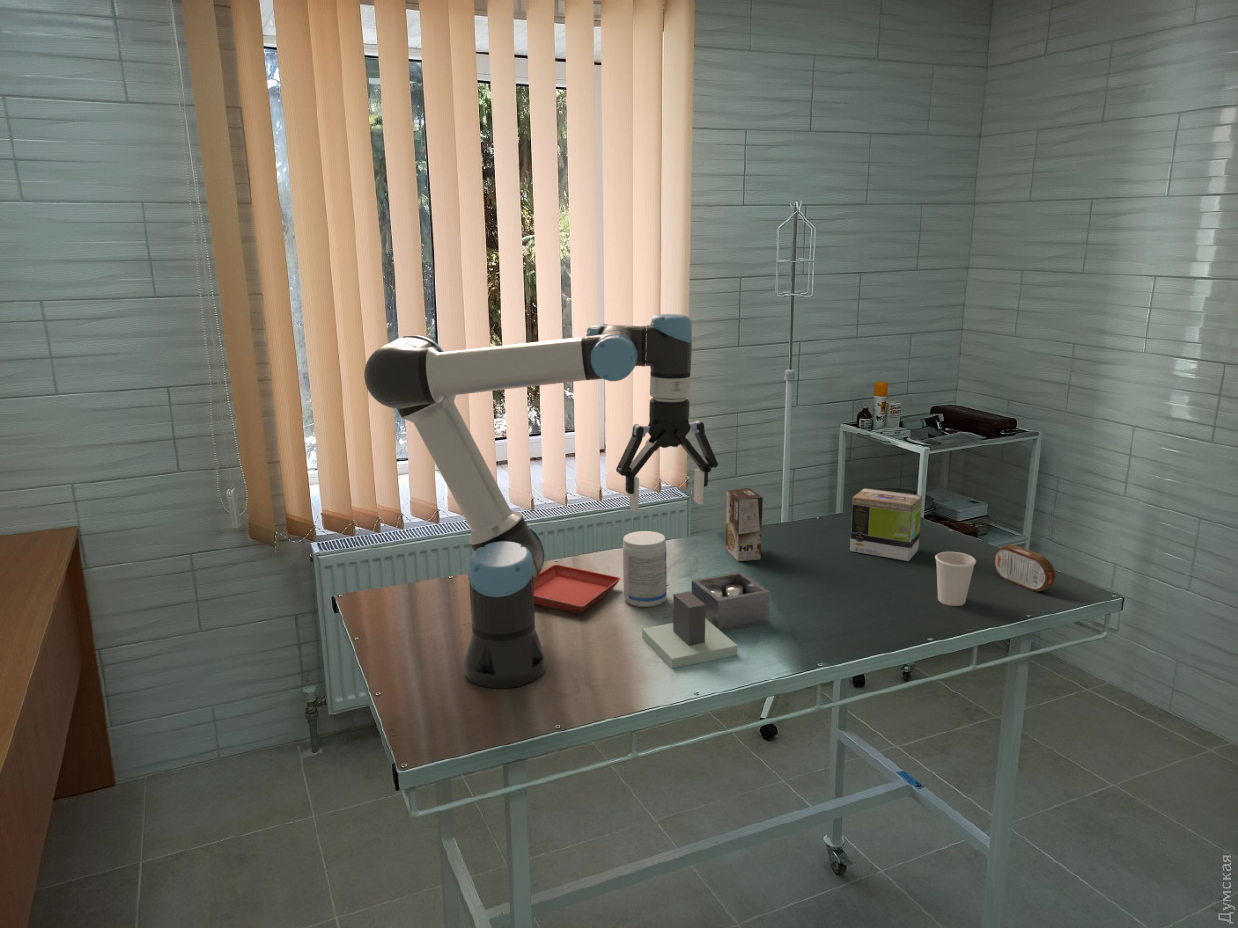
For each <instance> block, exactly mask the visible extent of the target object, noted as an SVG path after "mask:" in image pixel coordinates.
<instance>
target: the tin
mask: <svg viewBox="0 0 1238 928" xmlns="http://www.w3.org/2000/svg"><path fill="white" fill-rule="evenodd" d="M993 566H994V568H995V569H994V570H995V571H996V573H997V574H998V575H999V576H1000V577H1001V578H1002V579H1004V580H1005V581H1008V582H1010V583H1013V584H1014V585H1015V584H1016V585H1018V586H1020V587H1023V588H1024V589H1027V590H1029V591H1031V592H1042V591H1045V590H1048V589H1051V588H1052V587H1053V586H1054V584H1055V582H1056V581H1055V580H1056V571H1055V569H1054V566H1053V563H1052V562H1051V561H1050V560H1049V559H1048V558H1047V557H1045V555H1042V554H1039V553H1038V552H1034V551H1032V550H1029V549H1027V548H1024V547H1021V546H1019V545H1016V544H1014V543H1008V544H1005V545H1003V546H1001V547H999V548H997V549H996V550H995V552H994V554H993Z"/></svg>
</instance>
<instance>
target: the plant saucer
mask: <svg viewBox="0 0 1238 928" xmlns="http://www.w3.org/2000/svg"><path fill="white" fill-rule="evenodd" d="M620 580H621V578H620V577H618V576H615V575H614V576H613V575H610V574H604V573H598V572H595V571H590V570H587V569H586V570H585V569H580V568H577V567H571V566H566V565H560V564H553V565H551V566H549V567H547V568H546V569H544V570H542V571H541V572H540V574H539V577H538V580H537V583H536V586H535V590H534V605H539V606H543V607H546V608H551V609H556V610H560V611H564V612H569V613H573V614H582V613H583V612H585V611H586V610H587V609H589V608H590V607H591V606H592V605H594V604H595V603H597V602H598V601H599V600H601V599H602V598H603V597H605V595H607V594H609V593H610V592H611V591H612V590H613V589H614V588H615V587H616V586H617V585H618V583H619V582H620Z"/></svg>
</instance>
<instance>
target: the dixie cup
mask: <svg viewBox="0 0 1238 928" xmlns="http://www.w3.org/2000/svg"><path fill="white" fill-rule="evenodd" d="M934 559H935V563H936V581H937V583H936V585H937V587H936V588H937V601H939V602H940V603H941V604H943V605H946V606H952V607H958V606H959V607H960V606H963V605H965V604H966V600H967V596H968V593H969V588H970V584H971V579H972V576H973V572H974V567H975V565H976V563H977V560H976V558H975V557H974V556H972V555H970V554H967V553H964V552H957V551H942V552H939V553H937V554H935V556H934Z"/></svg>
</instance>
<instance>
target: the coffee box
mask: <svg viewBox="0 0 1238 928" xmlns="http://www.w3.org/2000/svg"><path fill="white" fill-rule="evenodd" d="M763 501H764V498H763V497H762V496H761V495H760V494H758V493H757V492H755V491H754V490H753V489H752V488H750V487H748V488H747V487H746V488H737V489H728V490H726V512H725V514H726V516H725V521H726V522H725V528H726V529H725V534H726V535H725V550H726V552H728V554H730V555H731V556H732V557H733V558H734V559H735V560H736V562H745V561H747V562H748V561H755V560H756V561H758V560H761V558H762V557H761V556H762V555H761V552H762V530H763V529H762V527H763V525H762V524H763V503H764V502H763Z"/></svg>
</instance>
